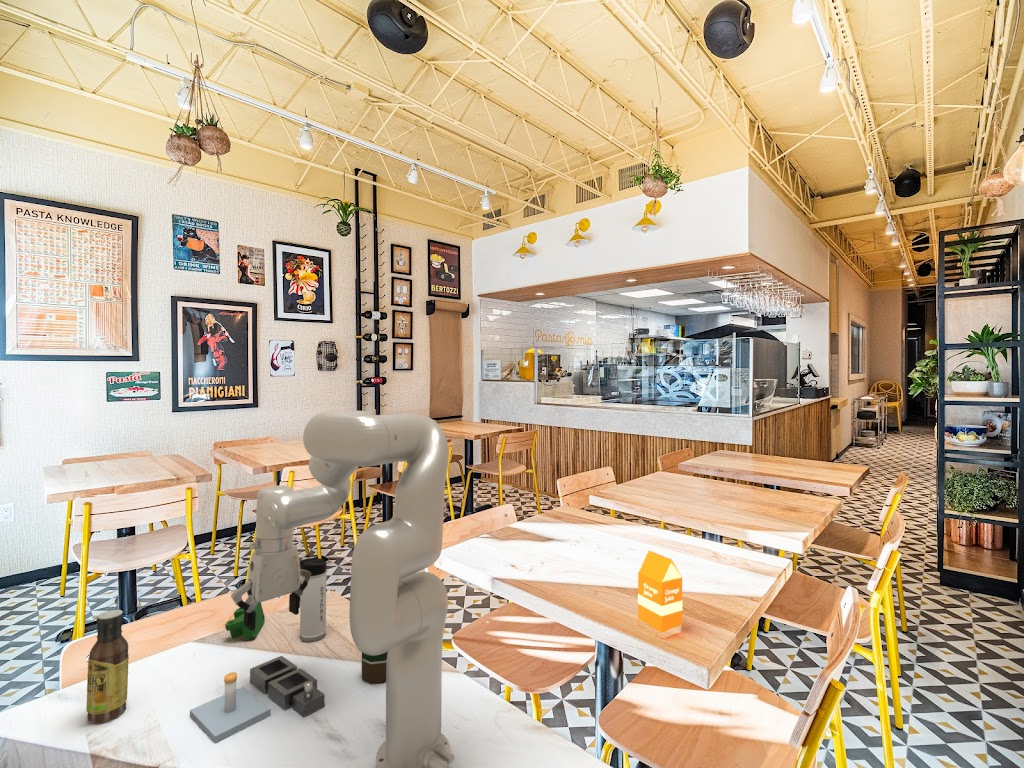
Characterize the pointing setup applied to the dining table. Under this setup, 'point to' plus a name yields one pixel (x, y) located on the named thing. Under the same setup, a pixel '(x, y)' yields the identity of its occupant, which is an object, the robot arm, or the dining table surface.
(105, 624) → the sauce bottle
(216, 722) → the keeper
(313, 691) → the knobbed metal block
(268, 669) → the end link
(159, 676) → the dining table surface
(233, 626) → the green mounting bracket
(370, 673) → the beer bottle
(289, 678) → the link
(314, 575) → the travel mug
